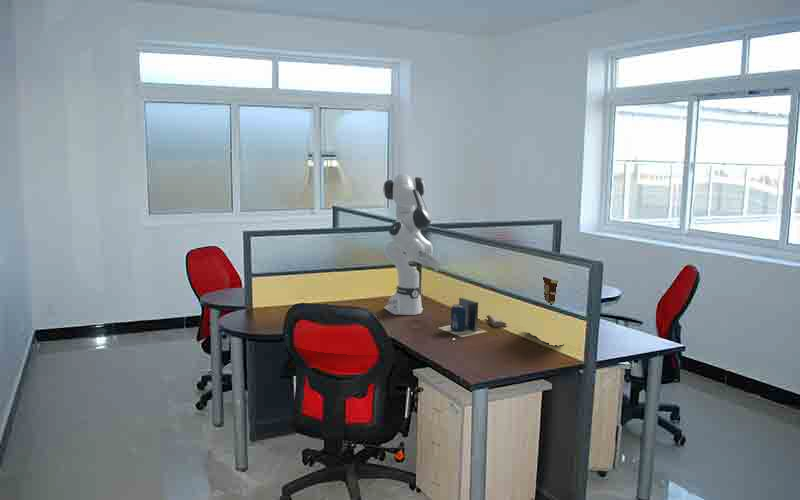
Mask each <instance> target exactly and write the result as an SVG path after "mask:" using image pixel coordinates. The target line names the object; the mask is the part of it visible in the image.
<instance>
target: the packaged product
mask: <svg viewBox="0 0 800 500" xmlns="http://www.w3.org/2000/svg"><path fill="white" fill-rule="evenodd" d="M486 317H487V318H488V320H487V321H488V322H489V324H490V325H491V326H492V327H493V328H503V327H504V326H505V325H506V323H507V322H506V321H505V320H504V321H505V322H506V323H505V322H504V321H502V320H500V319H498V318H495V317H493V316H490V315H488V316H487V315H486ZM504 328H505V327H504Z"/></svg>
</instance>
